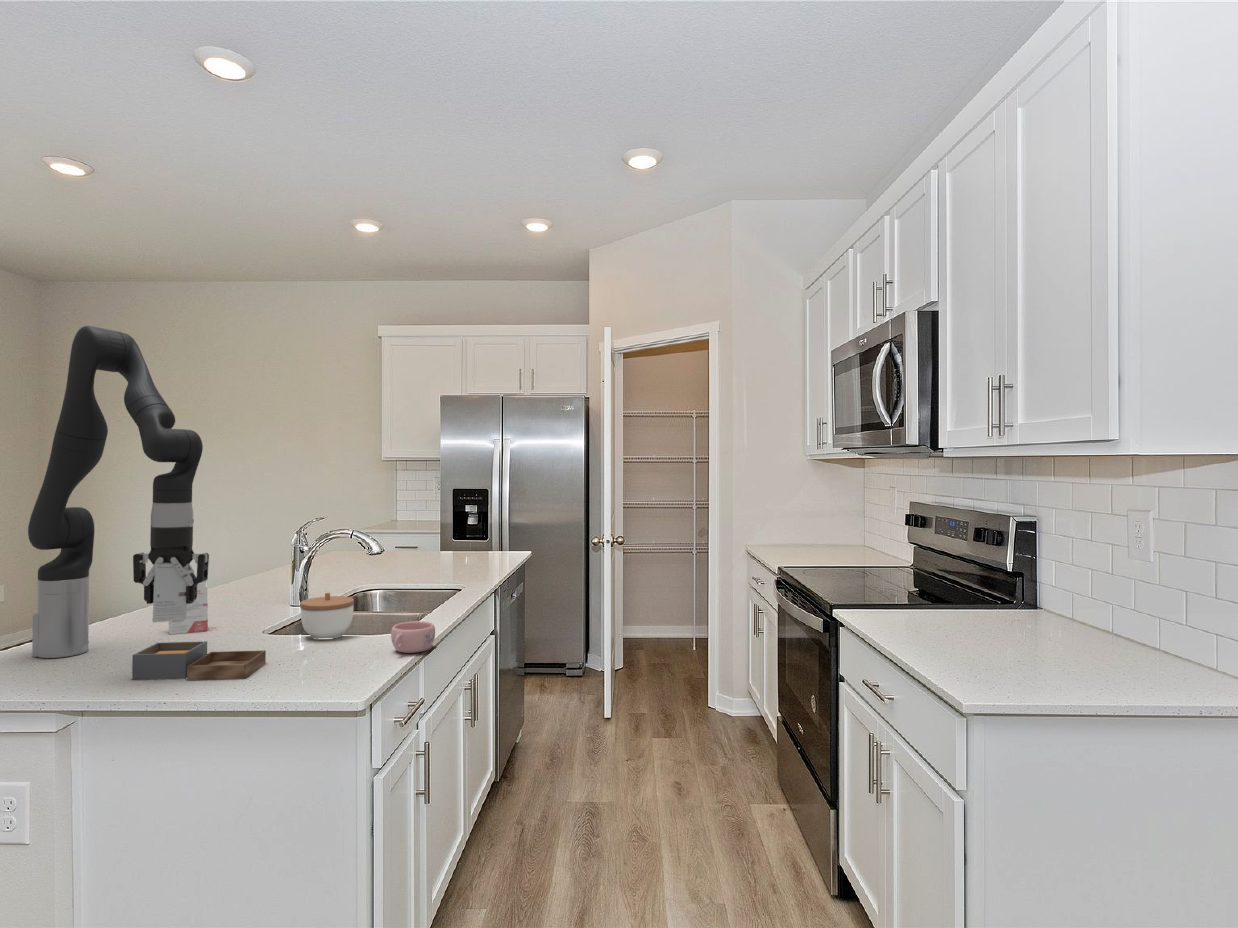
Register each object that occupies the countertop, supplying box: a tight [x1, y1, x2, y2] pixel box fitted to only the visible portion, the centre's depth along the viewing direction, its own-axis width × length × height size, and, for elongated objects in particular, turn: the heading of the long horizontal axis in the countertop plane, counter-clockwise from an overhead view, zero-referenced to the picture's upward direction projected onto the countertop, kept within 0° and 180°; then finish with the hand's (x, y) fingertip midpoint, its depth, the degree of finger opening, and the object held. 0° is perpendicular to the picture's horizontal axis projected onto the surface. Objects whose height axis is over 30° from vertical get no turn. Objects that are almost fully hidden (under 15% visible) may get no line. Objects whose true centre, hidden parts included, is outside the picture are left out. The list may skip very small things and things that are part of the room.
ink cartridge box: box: [168, 574, 209, 635], centre depth 184 cm, size 9×5×15 cm, turn 118°
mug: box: [390, 620, 436, 654], centre depth 166 cm, size 12×10×6 cm
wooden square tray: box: [186, 649, 267, 681], centre depth 149 cm, size 11×11×3 cm
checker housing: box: [131, 640, 208, 681], centre depth 148 cm, size 10×10×5 cm
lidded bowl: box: [299, 592, 355, 641], centre depth 179 cm, size 13×13×11 cm
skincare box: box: [152, 563, 189, 623], centre depth 148 cm, size 6×4×12 cm
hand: (170, 602), depth 148 cm, fingers closed on skincare box, 7 cm apart
